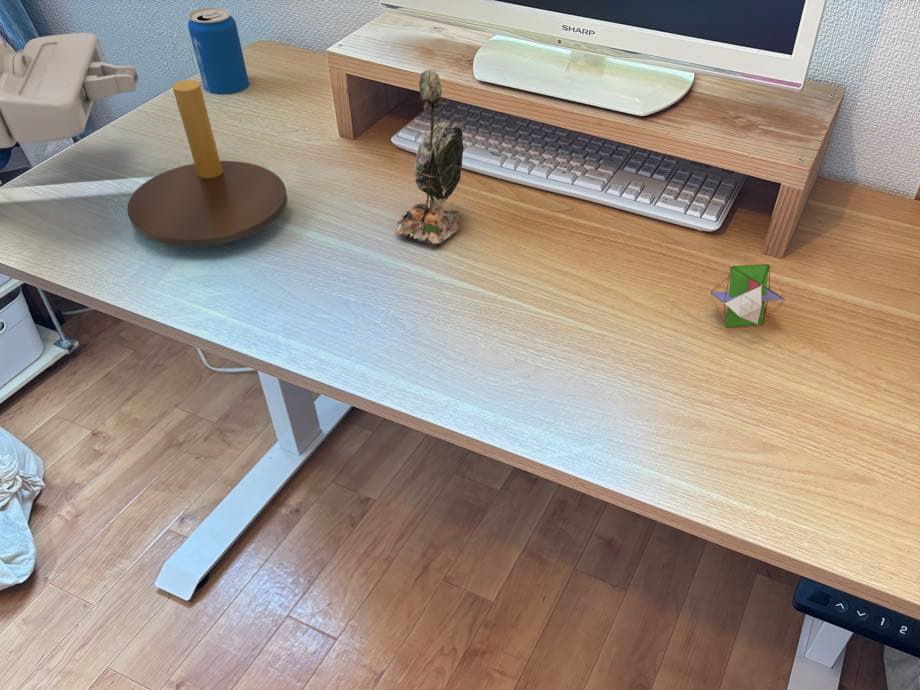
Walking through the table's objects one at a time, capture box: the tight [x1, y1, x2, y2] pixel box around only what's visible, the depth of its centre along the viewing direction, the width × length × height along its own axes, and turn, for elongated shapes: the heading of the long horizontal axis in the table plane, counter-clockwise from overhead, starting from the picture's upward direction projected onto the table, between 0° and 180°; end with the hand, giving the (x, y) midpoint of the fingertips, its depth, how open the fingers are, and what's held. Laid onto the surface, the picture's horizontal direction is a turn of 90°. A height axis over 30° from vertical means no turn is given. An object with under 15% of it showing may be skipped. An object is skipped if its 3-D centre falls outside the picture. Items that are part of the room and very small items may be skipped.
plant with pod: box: [394, 69, 465, 247], centre depth 91 cm, size 8×11×20 cm
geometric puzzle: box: [709, 263, 787, 329], centre depth 84 cm, size 7×7×8 cm
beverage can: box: [187, 6, 250, 96], centre depth 116 cm, size 6×6×12 cm
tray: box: [126, 79, 288, 248], centre depth 91 cm, size 18×18×12 cm
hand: (135, 78), depth 89 cm, fingers closed
